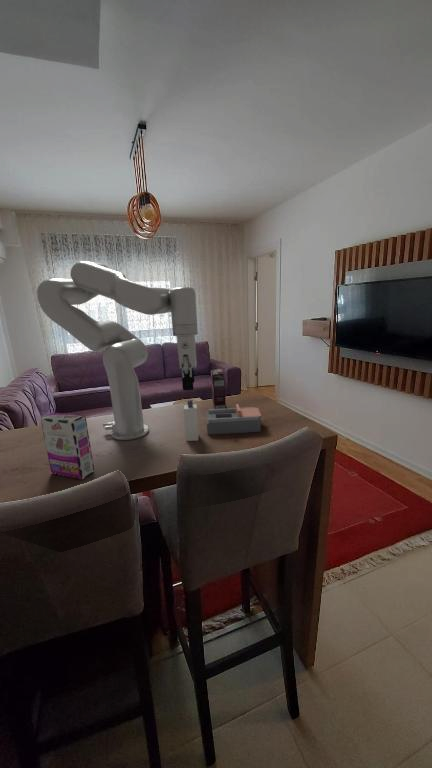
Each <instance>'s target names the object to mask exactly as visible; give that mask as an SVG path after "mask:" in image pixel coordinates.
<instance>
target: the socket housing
mask: <svg viewBox="0 0 432 768" xmlns="http://www.w3.org/2000/svg"><path fill="white" fill-rule="evenodd" d="M244 408H245V407H240V409H244ZM246 408H256V407H255V406H250V407H249V406H248V407H246ZM261 425H262V424H261V418H260V419H259V416H252V417H237V414H236V407H232V408H230V407H228V408H226V409H214V408H212V409H211V408H210V409H207V412H206V431H207V435H224V434H225V435H228V434H243V433H245V434H246V433H259V432H261V431H262V430H261V429H262V427H261Z"/></svg>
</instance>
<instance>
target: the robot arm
mask: <svg viewBox="0 0 432 768" xmlns="http://www.w3.org/2000/svg"><path fill="white" fill-rule="evenodd" d="M69 273H70V278H57V277H55V278H49V279H45V280H43V281H42V282H40V283H39V284H38V286H37V290H36V297H37V301H38V304H39V307H40V309H41V310H42V311H43V313H44V314H45V315H46V316H47V318H49V319H50V320H51V321H52V322H53V323H55V324H56V325H58V326H59V327H60V328H62V329H64V330H65V331H66V332H68V334H70V336H72V337H73V338H75V339H76V340H77V341H78V342H80V343H81V344H82V345H83V346H84V347H86V348H87V349H89V350H90V351H91V352H101V351H104V352H103V355H102V362H103V367H104V369H105V372H106V375H107V379H108V384H109V385H108V386H109V391H110V392H109V393H110V397H111V405H112V411H113V421H112V422H110V421H109V422H103V424H102V427H103V429H104V430H105V431H109V430H110V431H111V438H113V439H114V440H118V441H132V440H135V439H136V440H137V439H139V438H141V437H143V436H145V435H147V434H148V433H149V426H148V425H147V424H145V423H144V417H143V407H142V398H141V391H140V389H141V388H140V382H139V378H138V375H137V373H136V371H135V369H134V368H137V367H139V366H141V365H143V364H144V363H145V362H147V359H148V355H149V352H148V348H147V346H146V345H145V343H144V342H143V341H142V340H141V339H139V337H137V336H136V335H135V334H133V333H132V332H130V331H129V330H128V329H127V328H125V327H124V326H123V325H122V324H120V323H117V322H115V321H113V320H105V321H99V320H95V319H93V317H91V316H89V315H88V314H87V313H86V312H85V311H83V310H81V309H80V308H77V307H76V306H79V305H84V304H86V303H87V302H90V300H92V299H94V298H96V297H97V296H99V295H100V296H102V297H105V298H108V299H110V300H114V302H116V303H117V304H118V305H121V306H122V307H124V308H126V309H129V310H132V311H135V312H137V313H140V314H144V315H149V316H153V315H163V314H168V313H170V316H171V328H172V336H174V337H176V341H177V343H176V344H177V345H176V346H177V354H178V361H179V368H180V369H181V370H182V371H181V373H182V374H181V375H182V376H181V382H182V390H183V391H194V383H195V370H194V369H196V368H197V365H198V360H197V347H196V345H197V344H196V338H195V337H196V335H198V334H199V333H198V319H197V318H198V317H197V315H198V314H197V301H196V300H197V298H196V290H195V289H194V288H193V287H190V286H185V287H184V286H182V287H180V286H178V287H173V288H164V287H149V286H145V285H142V284H140V283H136V282H134V281H131V280H129V279H127V277H126V275H125V274H124V273H123V272H121V271H117V270H114V269H111V268H110V267H109V266H108V265H106V264H104V263H102V262H101V263H100V262H94V261H86V260H80V261H78V262H76V263H74V264H73V265H72V267H71V269H70V272H69Z"/></svg>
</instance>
